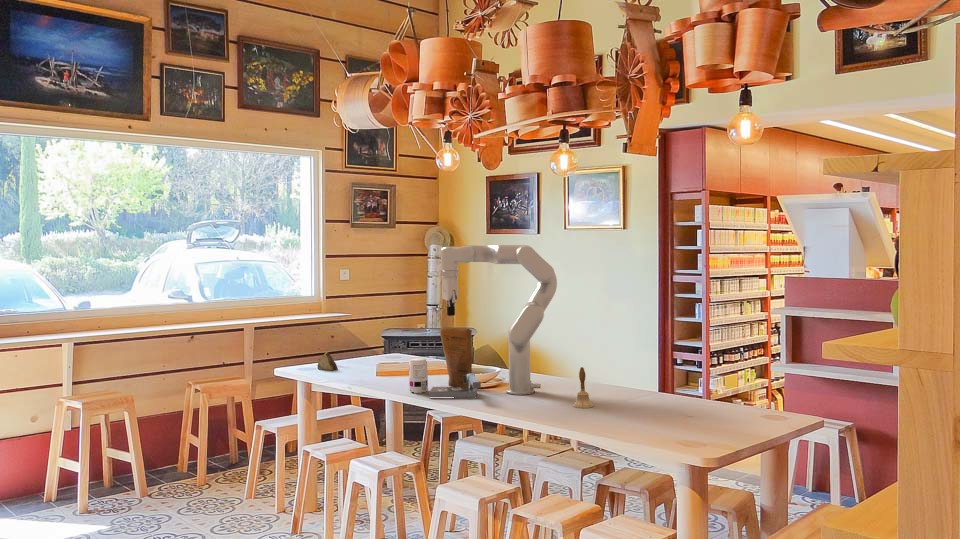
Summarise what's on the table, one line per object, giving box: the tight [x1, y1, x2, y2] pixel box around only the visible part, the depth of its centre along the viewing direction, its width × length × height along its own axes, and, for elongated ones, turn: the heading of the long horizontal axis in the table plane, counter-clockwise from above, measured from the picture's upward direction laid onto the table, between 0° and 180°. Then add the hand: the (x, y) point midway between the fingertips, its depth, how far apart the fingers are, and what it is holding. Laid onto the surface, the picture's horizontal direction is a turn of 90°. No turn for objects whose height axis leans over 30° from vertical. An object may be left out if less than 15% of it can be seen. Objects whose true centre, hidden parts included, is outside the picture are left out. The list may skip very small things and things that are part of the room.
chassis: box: [428, 381, 478, 399], centre depth 343 cm, size 20×10×6 cm, turn 85°
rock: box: [316, 351, 339, 371], centre depth 415 cm, size 11×9×10 cm
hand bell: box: [572, 366, 594, 409], centre depth 320 cm, size 8×8×16 cm
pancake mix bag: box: [439, 326, 473, 387], centre depth 362 cm, size 7×19×28 cm, turn 45°
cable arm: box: [467, 373, 482, 389], centre depth 337 cm, size 20×4×2 cm, turn 9°
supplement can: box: [408, 357, 429, 394], centre depth 353 cm, size 8×8×15 cm
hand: (451, 315), depth 347 cm, fingers closed
